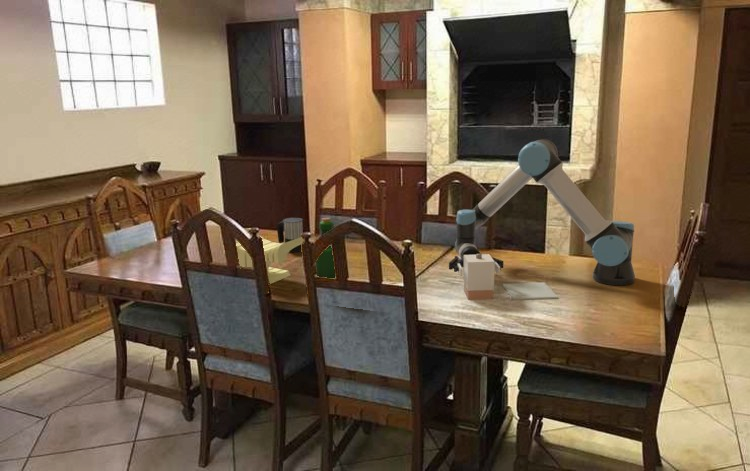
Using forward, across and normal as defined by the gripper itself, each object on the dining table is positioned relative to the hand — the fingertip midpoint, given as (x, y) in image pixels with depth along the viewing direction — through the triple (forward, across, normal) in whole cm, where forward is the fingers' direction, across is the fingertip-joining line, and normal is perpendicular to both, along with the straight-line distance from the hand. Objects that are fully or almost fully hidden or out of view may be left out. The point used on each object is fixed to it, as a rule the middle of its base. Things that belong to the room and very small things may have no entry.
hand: (480, 271), depth 215 cm
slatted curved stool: (-31, +82, -10) cm, 88 cm away
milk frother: (-71, +78, -10) cm, 106 cm away
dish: (-3, 0, -10) cm, 10 cm away
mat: (-5, -19, -10) cm, 22 cm away
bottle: (-14, +55, -10) cm, 58 cm away
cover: (-3, 0, -8) cm, 8 cm away
